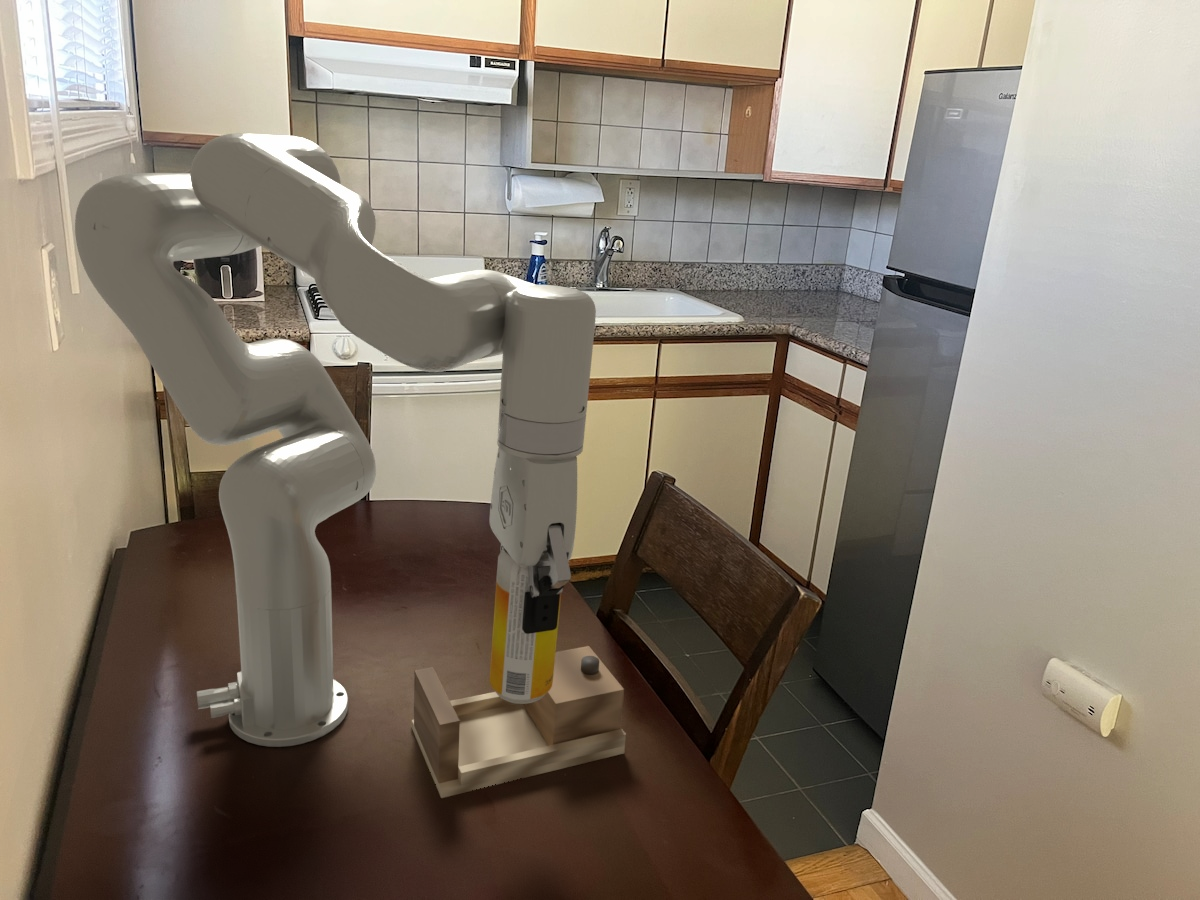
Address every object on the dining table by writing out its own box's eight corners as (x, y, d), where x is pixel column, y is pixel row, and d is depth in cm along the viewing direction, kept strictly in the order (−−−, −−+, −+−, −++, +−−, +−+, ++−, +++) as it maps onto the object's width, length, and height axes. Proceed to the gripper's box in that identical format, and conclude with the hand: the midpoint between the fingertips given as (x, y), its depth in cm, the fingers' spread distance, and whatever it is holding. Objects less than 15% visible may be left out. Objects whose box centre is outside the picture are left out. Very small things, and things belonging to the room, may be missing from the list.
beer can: (552, 672, 90) (565, 537, 85) (550, 709, 84) (564, 566, 79) (492, 668, 89) (501, 531, 84) (485, 704, 83) (495, 560, 79)
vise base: (441, 798, 89) (442, 730, 86) (411, 727, 99) (412, 665, 97) (624, 753, 98) (630, 690, 95) (579, 692, 108) (584, 634, 105)
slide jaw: (552, 751, 95) (556, 693, 93) (522, 702, 103) (525, 648, 101) (619, 735, 98) (625, 679, 96) (585, 689, 106) (589, 636, 104)
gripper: (471, 402, 83) (462, 574, 89) (535, 468, 69) (519, 668, 75) (546, 399, 87) (532, 566, 93) (622, 462, 72) (600, 655, 78)
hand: (526, 610), depth 84 cm, fingers closed on beer can, 6 cm apart
